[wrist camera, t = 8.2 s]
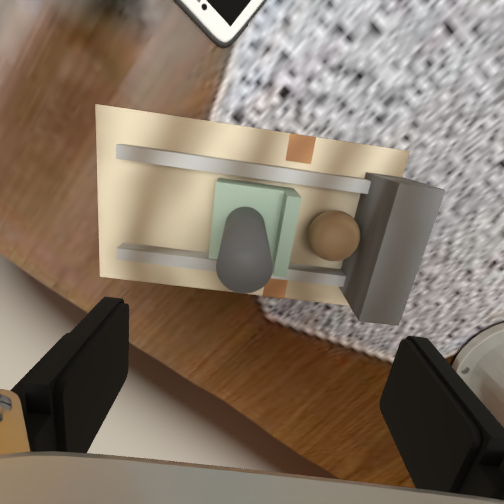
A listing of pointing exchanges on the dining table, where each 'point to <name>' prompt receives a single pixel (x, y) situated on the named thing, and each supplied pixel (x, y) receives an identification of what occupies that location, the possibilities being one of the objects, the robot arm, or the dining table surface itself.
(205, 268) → the press frame
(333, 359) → the dining table surface
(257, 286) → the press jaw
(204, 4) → the cell phone
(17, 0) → the dining table surface
